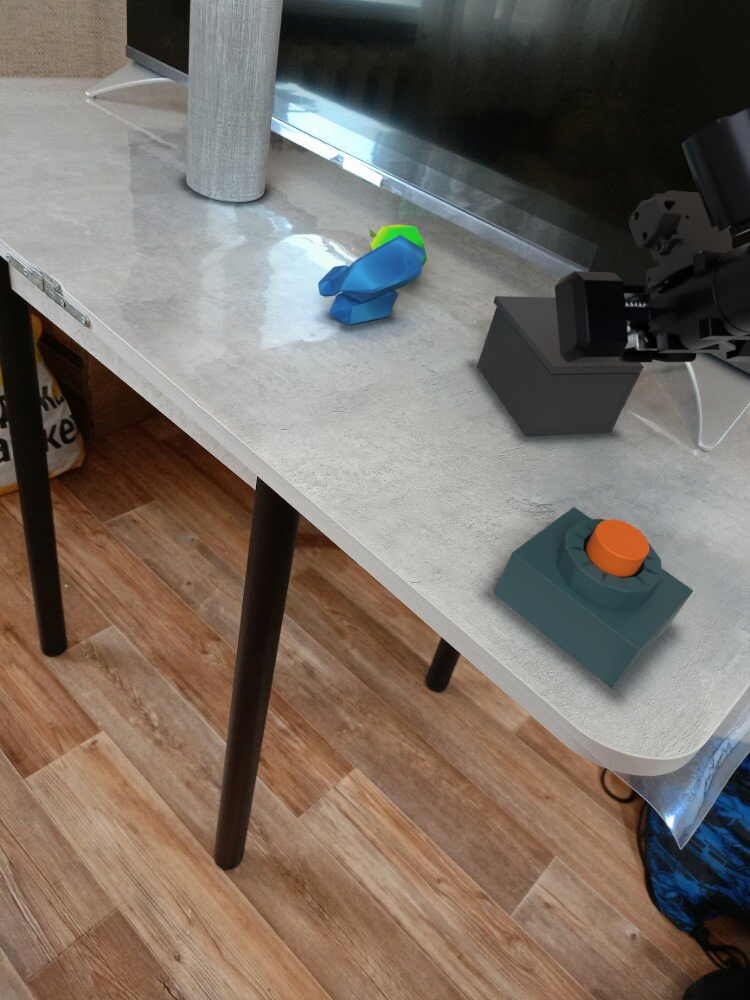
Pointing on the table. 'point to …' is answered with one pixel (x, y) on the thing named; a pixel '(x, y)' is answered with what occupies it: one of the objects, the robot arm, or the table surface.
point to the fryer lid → (550, 335)
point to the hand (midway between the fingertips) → (601, 344)
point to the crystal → (372, 281)
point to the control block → (590, 597)
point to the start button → (617, 548)
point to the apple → (393, 231)
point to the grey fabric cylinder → (231, 96)
